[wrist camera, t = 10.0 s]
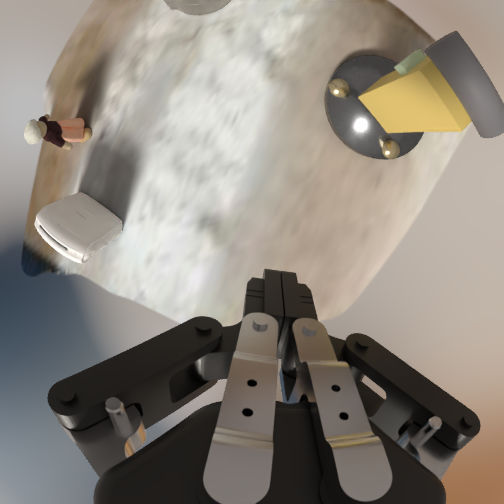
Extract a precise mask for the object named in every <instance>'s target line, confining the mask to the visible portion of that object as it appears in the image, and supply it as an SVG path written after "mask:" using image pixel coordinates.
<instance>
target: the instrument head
mask: <svg viewBox="0 0 504 504" xmlns="http://www.w3.org/2000/svg"><path fill="white" fill-rule="evenodd" d="M424 52H425V53H426V54H427V55H426V56H425V55H424V53H423V52H422V51H421V50H420V49H418V50H416V51H414V52H412V53H411V54H410V55H409V56H407V57H406V58H405V59H404V60H402V61H401V62H400V63H399V64H397V65H396V66H395V67H394V68H395V69H396V70H395V71H393V72H391V73H389V74H387V75H385V76H383V77H381V78H380V79H379V80H378V81H377V82H375V83H374V84H373V85H372V86H371V87H369V88H368V89H367V90H366V91H365V92H363V93H362V94H361V95H360V96H359V97H358V98H359V99H360V101H361V102H362V103H363V104H364V105H365V106H366V108H367V109H368V110H369V111H370V112H371V114H372V115H373V116H374V117H375V118H376V120H377V121H378V122H379V123H380V125H381V126H382V127H383V128H384V130H385V131H386V132H387V133H403V132H462V131H463V130H464V129H465V127H466V126H467V125H468V124H469V123H470V122H471V121H472V122H473V124H474V126H475V127H476V129H477V131H478V133H479V135H480V136H481V137H483V138H493V137H496V136H499V135H501V134H502V133H504V103H503V102H502V100H501V98H500V96H499V94H498V92H497V90H496V89H495V87H494V85H493V83H492V82H491V80H490V78H489V77H488V75H487V73H486V72H485V70H484V69H483V67H482V66H481V64H480V62H479V61H478V59H477V58H476V57H475V55H474V54H473V52H472V51H471V49H470V48H469V47H468V45H467V44H466V42H465V41H464V40H463V38H462V37H461V36H460V34H459V33H458V32H457V31H454V32H452V33H450V34H448V35H446V36H444V37H443V38H441V39H440V40H438V41H436V42H435V43H433V44H432V45H430V46H429V47H428V48H427V49H426V50H425V51H424Z"/></svg>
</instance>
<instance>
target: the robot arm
mask: <svg viewBox="0 0 504 504" xmlns="http://www.w3.org/2000/svg"><path fill="white" fill-rule="evenodd" d="M164 1H165V3H166V4H167V5H168V6H169V7H170V9H178V10H180V11H182V12H184V13H186V14H190V15H204V14H209V13H212V12H215V11H217V10H219V9H221V8H222V7H224V6H225V5H226V4H227V3H228V2H229V1H230V0H164ZM278 359H281V367H280V370H279V377H280V385H281V392H282V399H283V402H279V401H276V389H277V375H278ZM364 375H366V376H367V377H368V378H370V379H371V380H372V381H373V382H375V383H376V384H377V385H379V386H380V387H381V388H382V389H383V390H384V391H385V392H386V396H387V398H386V400H385V399H383V398H382V397H380V396H379V395H378V394H377V393H375V392H374V391H373V390H372V389H370V388H369V387H368V386H367V385H365V384H364V383H363V382H361V381H362V379H363V377H364ZM220 379H227V384H226V388H225V392H224V396H223V400H222V401H220V402H216V403H212V404H209V405H206V406H204V407H202V408H200V409H199V410H197V411H195V412H194V413H192V414H191V415H190V416H188V417H187V418H186V419H184V420H183V421H181V422H180V423H179V424H177V425H176V426H175V427H173V428H172V429H170V430H169V431H167V432H166V433H164V434H163V435H161V436H160V437H158V438H157V439H155V440H154V441H153V442H151V443H150V444H148V445H146V446H145V447H143V448H142V449H140V450H139V451H137V452H136V453H135V451H136V450H137V449H139V448H140V447H141V446H142V445H143V444H144V442H145V439H146V431H145V429H147V428H148V427H150V426H152V425H153V424H155V423H157V422H158V421H160V420H162V419H163V418H165V417H167V416H168V415H170V414H171V413H173V412H175V411H176V410H178V409H179V408H181V407H182V406H184V405H185V404H187V403H189V402H190V401H191V400H193V399H195V398H196V397H198V396H199V395H201V394H202V393H203V392H205V391H206V390H208V389H209V388H211V387H212V386H213V385H215V384H216V383H217V381H218V380H220ZM48 403H49V405H50V407H51V409H52V410H53V412H54V414H55V415H56V417H57V419H58V421H59V423H60V424H61V426H62V427H63V429H64V430H65V431H66V433H67V434H68V435H69V437H70V438H71V439H72V440H73V441H74V442H75V443H76V445H77V446H78V447H79V449H80V450H81V451H82V452H83V454H84V456H85V457H86V459H87V460H88V462H89V463H90V464H91V466H92V467H93V469H94V470H95V471H96V473H97V474H98V476H99V477H100V479H99V480H98V482H97V484H96V487H95V490H94V504H446V493H445V488H444V486H443V484H442V482H441V478H442V477H443V475H444V474H445V472H446V471H447V469H448V467H449V465H450V464H451V462H452V460H453V459H454V457H455V455H456V453H457V452H458V451H459V450H460V449H462V448H463V447H464V446H465V445H466V444H467V443H468V442H469V441H470V440H471V439H473V438H474V437H475V436H476V435H477V434H478V433H479V431H480V421H479V418H478V417H477V415H476V414H475V413H474V412H473V411H472V410H470V409H469V408H467V407H466V406H465V405H463V404H462V403H461V402H459V401H458V400H456V399H455V398H454V397H452V396H451V395H449V394H448V393H447V392H445V391H444V390H442V389H441V388H440V387H438V386H437V385H436V384H434V383H433V382H431V381H430V380H429V379H427V378H426V377H424V376H423V375H422V374H420V373H419V372H418V371H416V370H415V369H413V368H412V367H410V366H409V365H408V364H406V363H405V362H404V361H402V360H401V359H400V358H398V357H397V356H395V355H394V354H393V353H391V352H390V351H389V350H387V349H386V348H384V347H383V346H382V345H380V344H379V343H377V342H376V341H375V340H373V339H372V338H370V337H369V336H367V335H364V334H359V333H354V334H351V335H349V336H348V337H347V338H346V341H345V340H342V339H338V338H335V337H332V336H330V335H328V333H327V330H326V328H325V327H324V325H323V324H322V323H320V322H319V321H318V318H317V314H316V310H315V306H314V301H313V299H312V293H311V290H310V289H309V288H308V287H307V286H306V285H305V284H299V283H298V281H297V276H296V273H293V272H286V271H278V270H270V269H264V273H263V279H260V278H253V277H252V278H251V280H250V281H249V282H248V283H247V289H246V296H245V303H244V310H243V319H242V321H241V322H239V323H238V324H236V325H233V326H227V327H222V325H221V323H220V322H218V321H217V320H216V319H213V318H211V317H205V316H200V317H195V318H192V319H190V320H188V321H186V322H184V323H182V324H180V325H178V326H176V327H174V328H172V329H170V330H168V331H166V332H164V333H162V334H160V335H158V336H156V337H154V338H151V339H149V340H148V341H145V342H143V343H142V344H139V345H137V346H135V347H133V348H131V349H129V350H127V351H124V352H122V353H120V354H118V355H116V356H114V357H112V358H110V359H107V360H105V361H103V362H101V363H99V364H96V365H94V366H92V367H90V368H88V369H85V370H83V371H81V372H79V373H77V374H75V375H72V376H70V377H68V378H65V379H63V380H61V381H59V382H57V383H55V384H54V385H53V386H52V387H51V389H50V390H49V393H48Z"/></svg>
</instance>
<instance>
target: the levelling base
mask: <svg viewBox="0 0 504 504" xmlns="http://www.w3.org/2000/svg"><path fill="white" fill-rule="evenodd" d="M396 65H397V63H395V62H394V61H392V60H389V59H387V58H384V57H380V56H375V55H364V56H358V57H355V58H352V59H350V60H348V61H347V62H345V63H344V64H343V65H341V66H340V67H339V68H338V69H337V70H336V71H335V72H334V74H333V75H332V76H331V78H330V80H329V82H328V84H327V87H326V92H325V110H326V115H327V118H328V121H329V123H330V125H331V127H332V129H333V131H334V132H335V134H336V135H337V136H338V138H339V139H340V140H341V141H342V142H343V143H344V144H345V145H346V146H348V147H349V148H350V149H352V150H353V151H355V152H357V153H359V154H361V155H364V156H367V157H371V158H376V159H395V158H398V157H400V156H403V155H405V154H407V153H408V152H410V151H411V150H412V149H413V148H414V147H415V146H416V145H417V144H418V142H419V141H420V139H421V137H422V135H423V133H424V132H403V133H387V132H386V131H385V130H384V128H383V127H382V126H381V125H380V123H379V122H378V121H377V120H376V118H375V117H374V116H373V115H372V114H371V112H370V111H369V110H368V109H367V108H366V106H365V105H364V104H363V103H362V102H361V101H360V99H359V98H358V97H359V96H360V95H361V94H362V93H363V92H365V91H366V90H367V89H368V88H369V87H371V86H372V85H373V84H374V83H375V82H377V81H378V80H379V79H380V78H381V77H383V76H385V75H387V74H389V73H391V72H393V71H395V70H396V69H395V68H394V67H395V66H396Z"/></svg>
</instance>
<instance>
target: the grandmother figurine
mask: <svg viewBox="0 0 504 504" xmlns="http://www.w3.org/2000/svg"><path fill="white" fill-rule="evenodd" d="M49 118H50V116H49V115H48V114H46V115H45V116H42V117H40V118H39V121H36V120H34V119H33V120H31V121H29V122H28V124H27V125H26V127H25V132H24V137H25V139H26V140H27V142H28V143H29V144H36V143H38V142H40V141H41V139H42V138H44V139H45V140H46V141H48V142H51V143H53V144H55V145H57V146H59V147H62V148H66V149H67V150H71V149H72V147H73V145H72V144H71V143H68V142H67V141H79V142H81V143H83V142H85V141H87V140H88V139H90V137H91V135H92V132H91V130H90V129H89V128H85V129H84V120H83V119H82V118H74V119H68V120H62V121H58V122H56V121H48V120H49ZM65 140H67V141H65Z"/></svg>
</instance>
